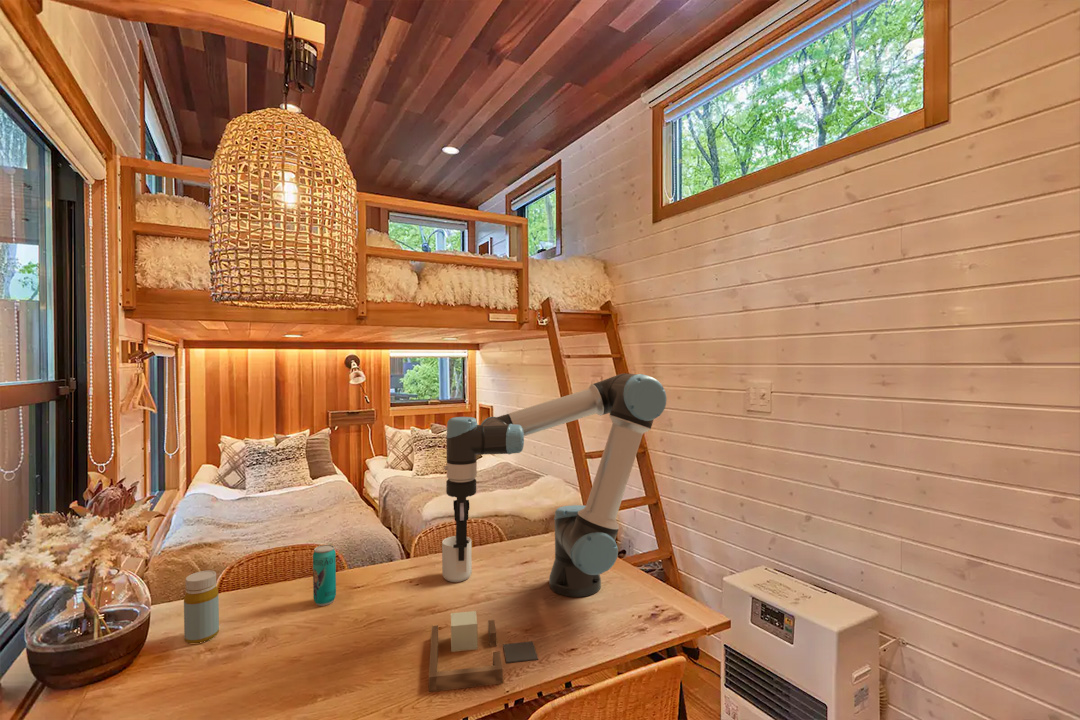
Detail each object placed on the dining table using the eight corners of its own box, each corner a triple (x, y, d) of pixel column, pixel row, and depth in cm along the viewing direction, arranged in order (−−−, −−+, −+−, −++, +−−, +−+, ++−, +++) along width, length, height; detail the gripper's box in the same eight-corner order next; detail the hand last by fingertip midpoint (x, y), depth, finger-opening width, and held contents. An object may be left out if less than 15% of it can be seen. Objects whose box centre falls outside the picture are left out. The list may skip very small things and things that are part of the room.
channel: (494, 632, 127) (494, 619, 127) (502, 683, 107) (502, 668, 107) (432, 638, 124) (431, 625, 124) (428, 691, 104) (428, 677, 104)
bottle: (225, 632, 127) (224, 571, 127) (198, 647, 121) (197, 583, 121) (205, 627, 130) (204, 568, 130) (177, 642, 123) (176, 579, 123)
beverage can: (308, 605, 141) (308, 550, 141) (324, 595, 146) (324, 543, 146) (325, 608, 139) (324, 553, 139) (340, 599, 144) (340, 545, 144)
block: (476, 635, 125) (475, 610, 125) (477, 649, 120) (477, 623, 119) (451, 638, 124) (450, 613, 124) (451, 652, 118) (450, 626, 118)
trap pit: (532, 642, 122) (532, 641, 122) (537, 659, 115) (537, 658, 115) (503, 645, 121) (503, 644, 121) (506, 663, 114) (506, 661, 114)
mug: (472, 582, 155) (471, 545, 154) (442, 584, 153) (441, 547, 153) (470, 565, 166) (470, 531, 166) (442, 567, 165) (442, 533, 165)
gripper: (446, 473, 137) (446, 562, 137) (446, 485, 124) (445, 583, 124) (475, 472, 138) (474, 560, 138) (477, 484, 125) (477, 581, 125)
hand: (461, 571), depth 131 cm, fingers closed
